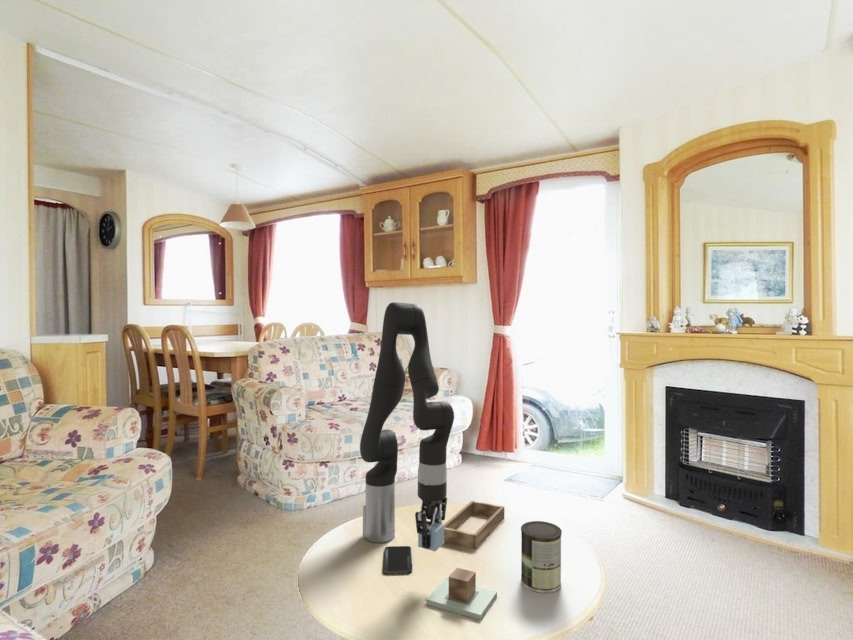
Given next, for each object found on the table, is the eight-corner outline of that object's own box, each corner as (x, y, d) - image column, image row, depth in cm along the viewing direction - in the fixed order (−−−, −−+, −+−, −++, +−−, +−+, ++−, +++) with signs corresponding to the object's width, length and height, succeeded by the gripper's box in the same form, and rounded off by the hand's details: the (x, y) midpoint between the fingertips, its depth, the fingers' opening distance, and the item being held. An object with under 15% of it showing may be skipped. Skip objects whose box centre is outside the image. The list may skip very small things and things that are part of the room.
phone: (383, 571, 136) (384, 546, 150) (383, 576, 136) (384, 550, 150) (412, 571, 136) (411, 545, 151) (412, 575, 136) (411, 549, 151)
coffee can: (513, 584, 131) (513, 529, 131) (532, 568, 139) (532, 517, 139) (550, 598, 124) (550, 541, 124) (568, 581, 132) (568, 527, 132)
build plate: (426, 604, 122) (426, 598, 122) (445, 582, 131) (445, 577, 131) (480, 620, 115) (480, 614, 115) (496, 596, 125) (496, 591, 125)
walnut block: (448, 597, 122) (448, 576, 122) (456, 587, 127) (457, 567, 127) (467, 602, 120) (467, 581, 120) (475, 592, 124) (475, 572, 124)
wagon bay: (440, 540, 156) (440, 527, 156) (471, 511, 179) (471, 500, 179) (476, 549, 151) (476, 535, 150) (504, 518, 174) (504, 506, 174)
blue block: (418, 546, 131) (418, 527, 130) (427, 539, 135) (427, 520, 135) (435, 551, 128) (435, 532, 128) (443, 543, 133) (444, 524, 132)
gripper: (432, 468, 139) (430, 529, 140) (405, 484, 126) (404, 551, 127) (456, 473, 136) (455, 535, 136) (432, 490, 123) (431, 558, 123)
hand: (431, 543), depth 132 cm, fingers closed on blue block, 5 cm apart
